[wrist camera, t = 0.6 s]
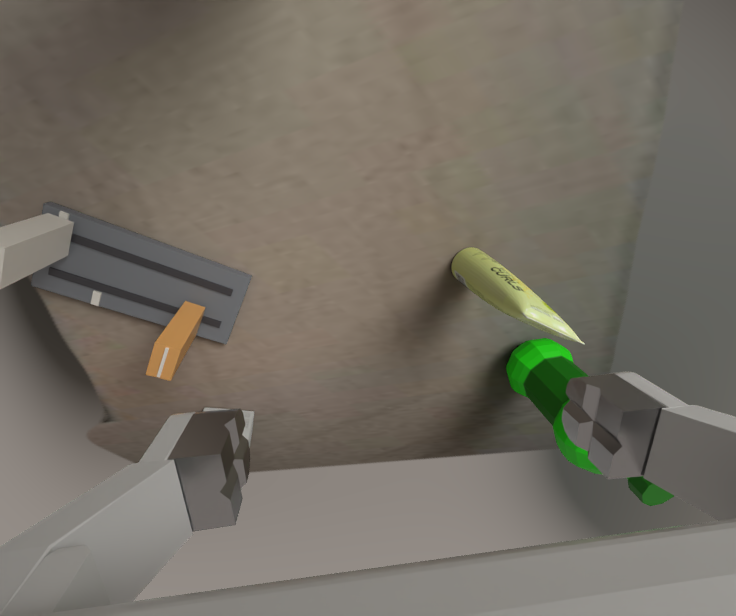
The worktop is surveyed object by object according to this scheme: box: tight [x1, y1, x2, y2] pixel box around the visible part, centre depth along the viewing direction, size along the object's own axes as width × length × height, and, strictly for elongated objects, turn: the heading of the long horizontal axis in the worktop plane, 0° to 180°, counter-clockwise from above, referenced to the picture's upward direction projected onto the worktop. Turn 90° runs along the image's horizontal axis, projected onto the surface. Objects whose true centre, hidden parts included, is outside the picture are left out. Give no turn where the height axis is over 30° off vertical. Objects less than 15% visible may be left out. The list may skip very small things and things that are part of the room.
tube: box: [452, 248, 585, 345], centre depth 41 cm, size 6×5×20 cm
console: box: [31, 202, 252, 344], centre depth 44 cm, size 22×10×1 cm, turn 64°
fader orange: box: [145, 301, 206, 381], centre depth 41 cm, size 2×4×10 cm, turn 154°
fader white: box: [0, 213, 74, 289], centre depth 35 cm, size 2×4×10 cm, turn 154°
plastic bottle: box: [506, 338, 674, 506], centre depth 47 cm, size 10×10×25 cm
